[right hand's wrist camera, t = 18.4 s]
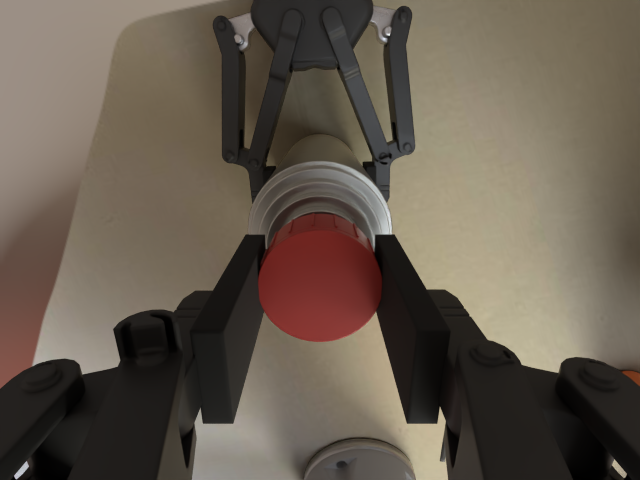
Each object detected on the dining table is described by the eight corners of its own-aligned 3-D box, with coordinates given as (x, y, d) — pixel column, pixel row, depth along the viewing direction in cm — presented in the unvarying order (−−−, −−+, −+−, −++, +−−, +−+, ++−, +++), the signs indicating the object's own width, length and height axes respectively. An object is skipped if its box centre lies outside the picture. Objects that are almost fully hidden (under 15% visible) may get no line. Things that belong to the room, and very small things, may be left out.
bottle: (323, 117, 34) (329, 135, 11) (372, 175, 36) (460, 290, 13) (267, 169, 35) (177, 275, 13) (317, 222, 37) (312, 395, 15)
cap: (241, 271, 15) (229, 294, 13) (313, 187, 13) (313, 200, 12) (324, 332, 16) (325, 363, 14) (399, 260, 14) (410, 283, 13)
